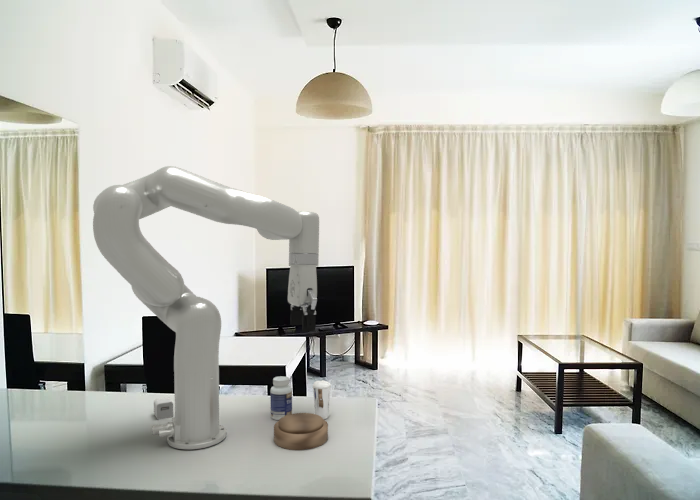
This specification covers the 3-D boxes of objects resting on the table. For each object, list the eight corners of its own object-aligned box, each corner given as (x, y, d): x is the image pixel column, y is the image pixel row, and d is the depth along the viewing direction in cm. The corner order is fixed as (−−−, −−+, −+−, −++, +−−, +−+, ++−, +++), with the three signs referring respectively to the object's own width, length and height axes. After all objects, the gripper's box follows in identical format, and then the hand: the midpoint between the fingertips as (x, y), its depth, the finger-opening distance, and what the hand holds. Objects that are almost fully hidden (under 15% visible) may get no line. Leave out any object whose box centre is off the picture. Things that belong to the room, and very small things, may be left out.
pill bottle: (290, 420, 119) (290, 381, 119) (268, 420, 119) (268, 381, 119) (293, 413, 124) (293, 375, 124) (272, 413, 125) (272, 375, 124)
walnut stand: (283, 454, 100) (283, 435, 100) (267, 433, 111) (267, 416, 111) (336, 443, 105) (336, 425, 105) (316, 424, 116) (316, 408, 116)
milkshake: (333, 420, 119) (333, 380, 119) (311, 420, 119) (311, 380, 119) (334, 414, 123) (334, 375, 123) (313, 414, 124) (313, 375, 123)
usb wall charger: (156, 420, 120) (156, 404, 120) (152, 411, 126) (152, 396, 126) (173, 417, 122) (173, 401, 122) (168, 409, 128) (168, 394, 128)
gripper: (279, 259, 129) (278, 323, 129) (300, 261, 113) (298, 334, 113) (306, 259, 132) (305, 322, 132) (330, 261, 116) (328, 332, 116)
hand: (302, 328), depth 123 cm, fingers open, 9 cm apart
